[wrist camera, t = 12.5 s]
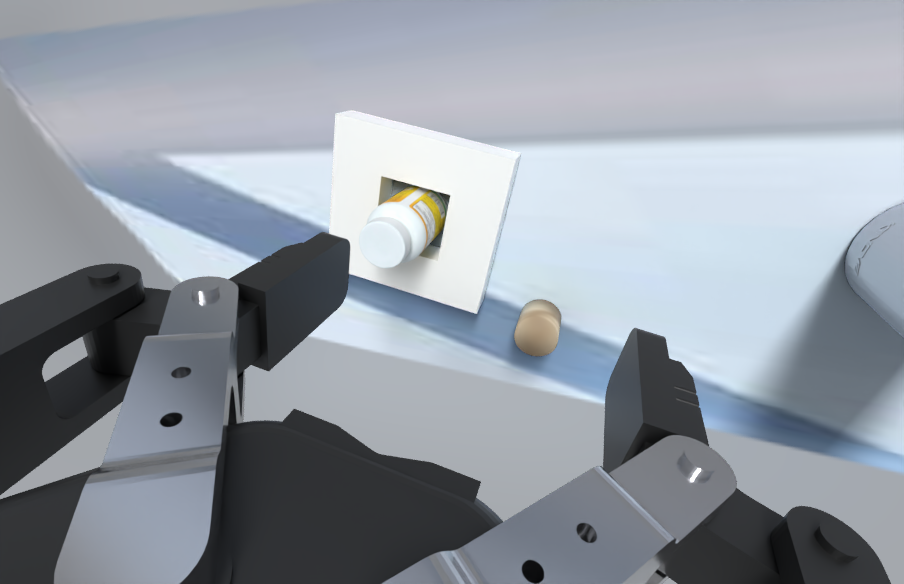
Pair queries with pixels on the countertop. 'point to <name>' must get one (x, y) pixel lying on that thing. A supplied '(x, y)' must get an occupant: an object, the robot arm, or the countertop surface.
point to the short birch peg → (538, 328)
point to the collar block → (432, 167)
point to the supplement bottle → (403, 226)
